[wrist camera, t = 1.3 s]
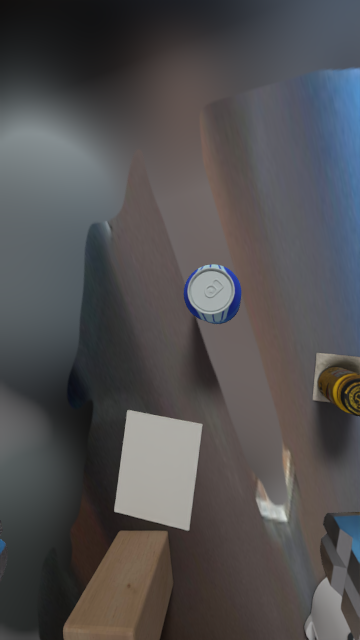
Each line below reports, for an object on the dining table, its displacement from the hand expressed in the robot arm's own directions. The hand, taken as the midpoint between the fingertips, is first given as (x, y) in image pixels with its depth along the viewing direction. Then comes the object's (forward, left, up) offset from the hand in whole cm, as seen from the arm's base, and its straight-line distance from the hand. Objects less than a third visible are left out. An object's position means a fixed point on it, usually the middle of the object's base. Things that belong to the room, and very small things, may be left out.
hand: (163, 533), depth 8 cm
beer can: (+10, -4, -50) cm, 51 cm away
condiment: (-12, -16, -50) cm, 54 cm away
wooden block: (-27, +31, -50) cm, 65 cm away
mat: (-13, +22, -50) cm, 56 cm away
